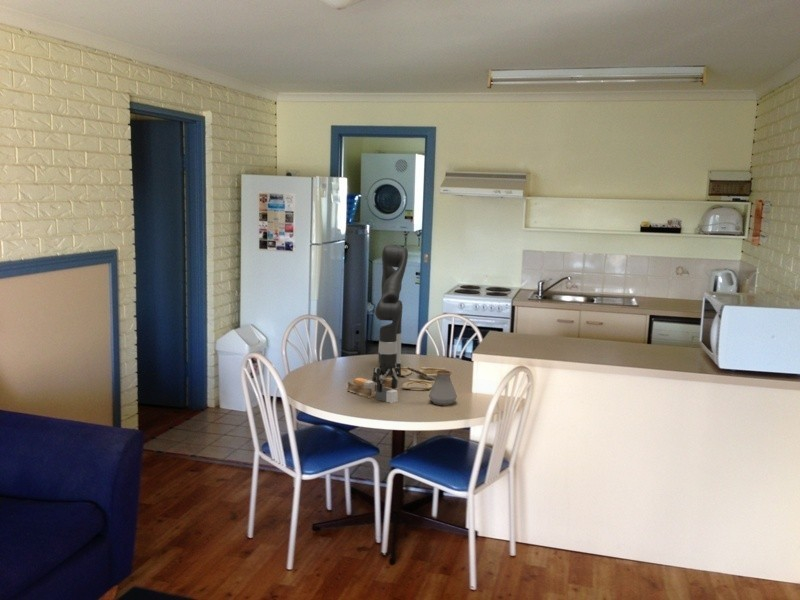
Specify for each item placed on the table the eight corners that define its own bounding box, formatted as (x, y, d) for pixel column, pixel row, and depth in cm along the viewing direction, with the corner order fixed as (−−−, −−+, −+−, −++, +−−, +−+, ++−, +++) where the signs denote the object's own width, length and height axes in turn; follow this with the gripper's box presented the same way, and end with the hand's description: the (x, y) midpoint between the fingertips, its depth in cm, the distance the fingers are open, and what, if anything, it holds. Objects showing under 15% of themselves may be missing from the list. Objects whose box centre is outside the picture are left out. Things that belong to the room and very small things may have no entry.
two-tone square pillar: (375, 398, 287) (375, 388, 286) (381, 396, 290) (381, 386, 289) (391, 403, 281) (391, 392, 280) (397, 401, 284) (397, 390, 283)
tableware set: (389, 368, 338) (389, 360, 338) (447, 374, 329) (448, 366, 329) (363, 386, 305) (364, 377, 305) (427, 394, 296) (427, 385, 296)
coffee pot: (453, 398, 290) (455, 363, 288) (459, 406, 279) (460, 370, 276) (403, 398, 287) (404, 363, 285) (406, 407, 276) (407, 370, 274)
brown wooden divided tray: (347, 391, 296) (347, 382, 295) (372, 384, 307) (372, 375, 307) (370, 398, 287) (370, 389, 286) (395, 391, 298) (396, 382, 298)
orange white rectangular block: (353, 389, 296) (353, 379, 295) (359, 387, 298) (359, 377, 298) (369, 393, 290) (369, 383, 289) (374, 392, 293) (375, 381, 292)
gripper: (392, 347, 290) (391, 385, 292) (368, 352, 279) (368, 391, 282) (406, 350, 285) (405, 388, 287) (382, 355, 274) (381, 395, 277)
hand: (386, 390), depth 284 cm, fingers open, 8 cm apart
